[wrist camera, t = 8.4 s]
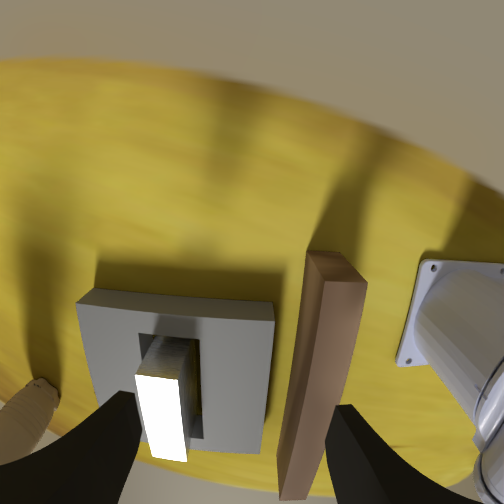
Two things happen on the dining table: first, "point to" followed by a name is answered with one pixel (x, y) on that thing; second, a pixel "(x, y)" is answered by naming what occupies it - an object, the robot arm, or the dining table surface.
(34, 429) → the handle
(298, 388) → the brown long flat block
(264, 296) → the dining table surface
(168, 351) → the white wooden block
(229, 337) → the slotted grey plate
